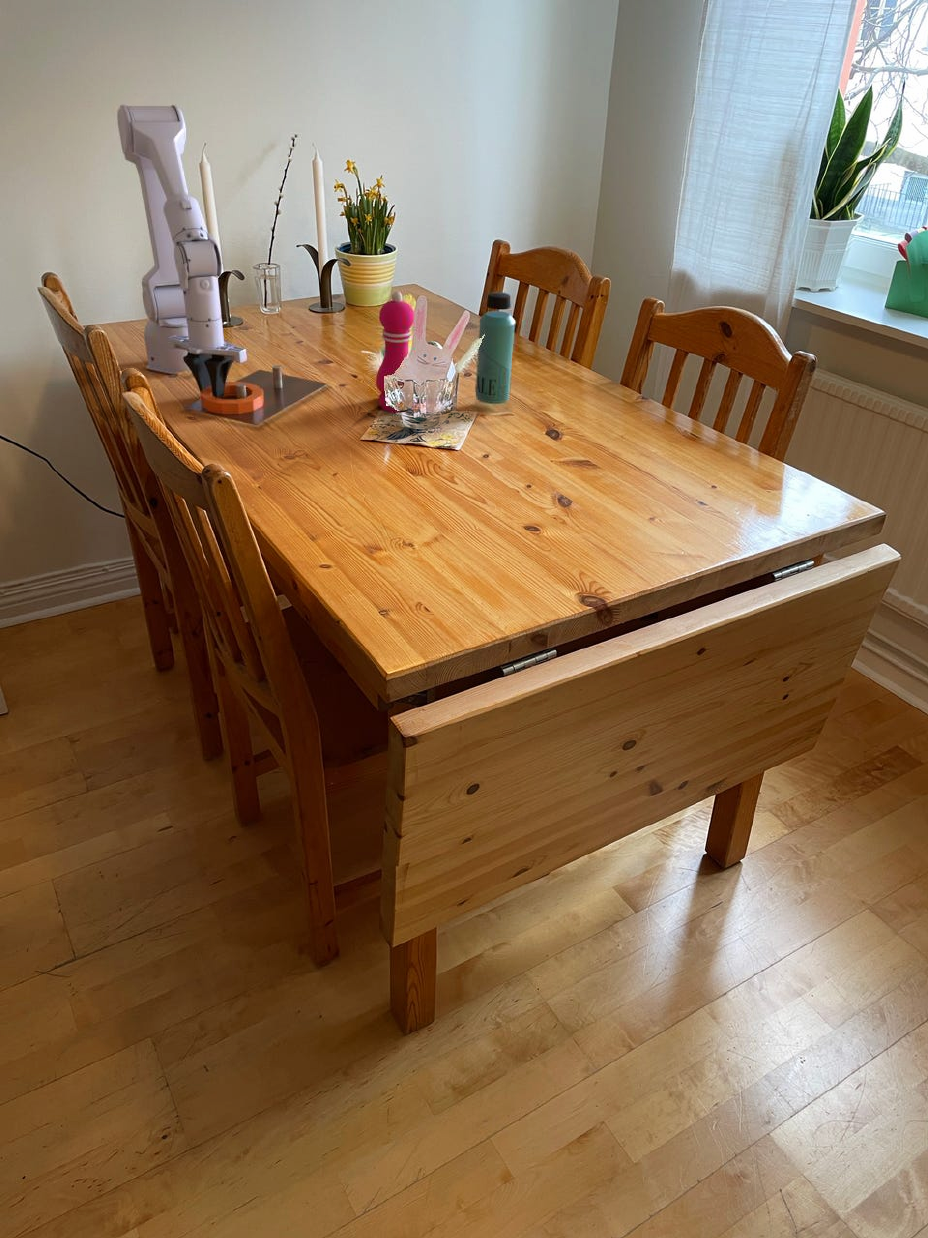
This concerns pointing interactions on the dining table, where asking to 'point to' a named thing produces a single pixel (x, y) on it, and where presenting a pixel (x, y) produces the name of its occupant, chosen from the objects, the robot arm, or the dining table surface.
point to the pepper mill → (394, 340)
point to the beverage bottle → (495, 351)
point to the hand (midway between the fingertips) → (212, 395)
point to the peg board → (267, 394)
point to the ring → (233, 406)
